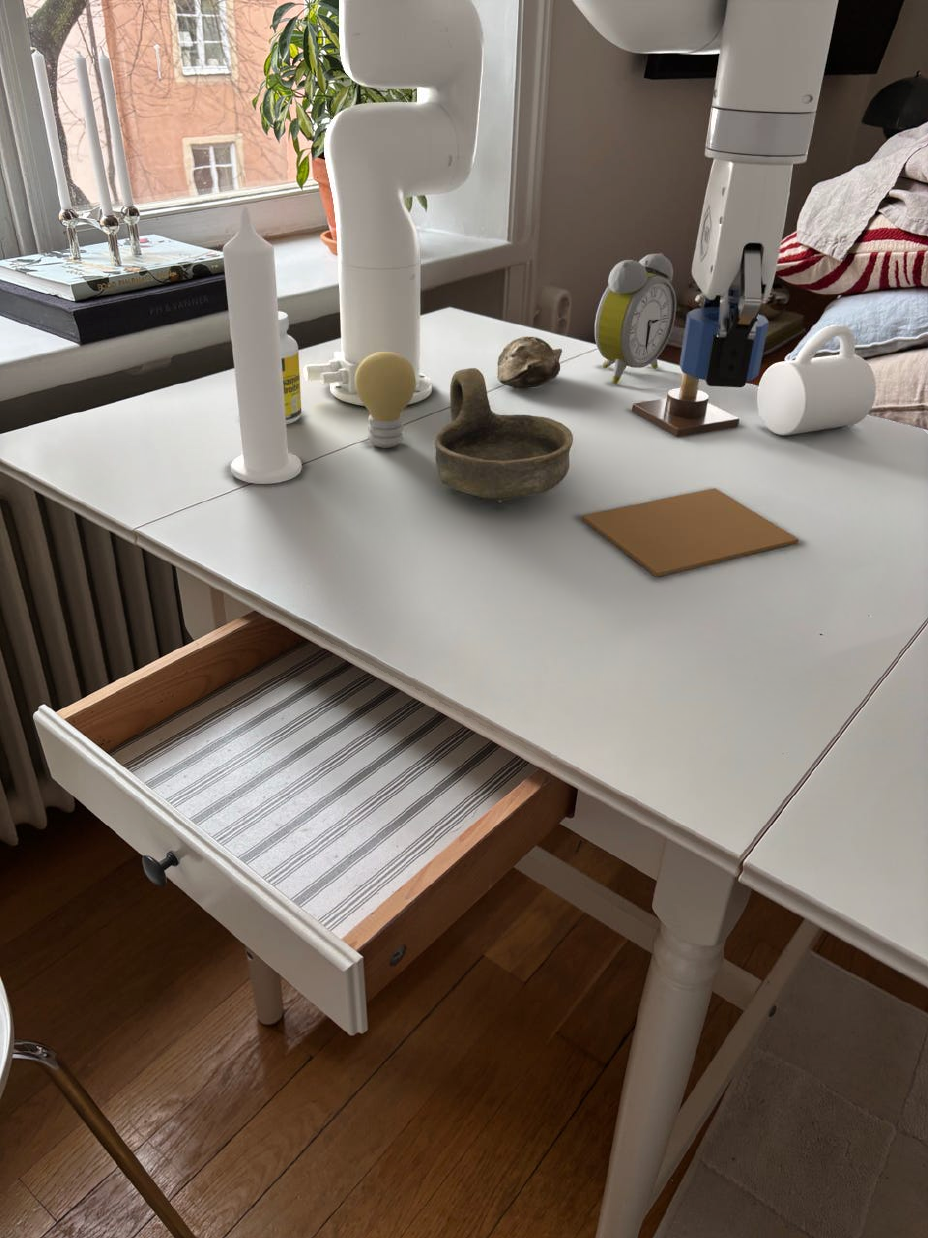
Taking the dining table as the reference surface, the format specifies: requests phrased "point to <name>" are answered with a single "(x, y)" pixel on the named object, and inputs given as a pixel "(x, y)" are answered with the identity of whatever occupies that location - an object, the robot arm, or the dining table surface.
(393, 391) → the light bulb
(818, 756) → the dining table surface
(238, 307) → the candle
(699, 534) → the mat
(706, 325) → the blue hollow cylinder
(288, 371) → the pill bottle
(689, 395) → the dowel stand
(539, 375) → the fossilized seashell
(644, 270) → the alarm clock
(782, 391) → the mug
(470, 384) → the bowl
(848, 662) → the dining table surface
